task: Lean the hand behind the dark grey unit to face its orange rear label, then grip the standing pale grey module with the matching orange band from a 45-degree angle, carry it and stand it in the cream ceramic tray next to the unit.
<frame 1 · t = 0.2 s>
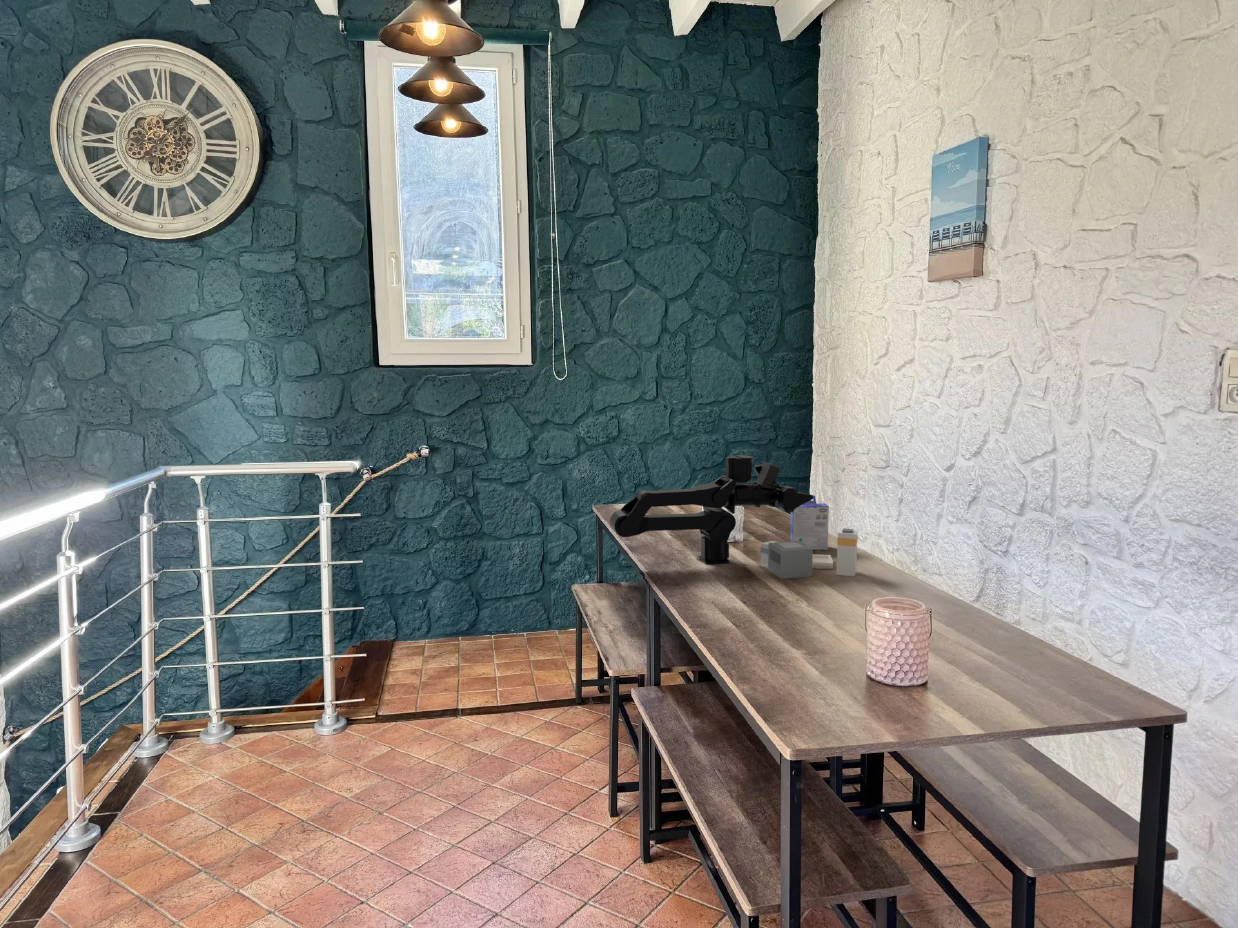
hand: (805, 494, 217), 16 cm above the table, tool horizontal, fingers open, 9 cm apart
tray: (815, 564, 210), on the table
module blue: (772, 566, 208), on the table
ink cartridge box: (808, 548, 227), on the table
unit: (789, 573, 202), on the table
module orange: (846, 573, 202), on the table
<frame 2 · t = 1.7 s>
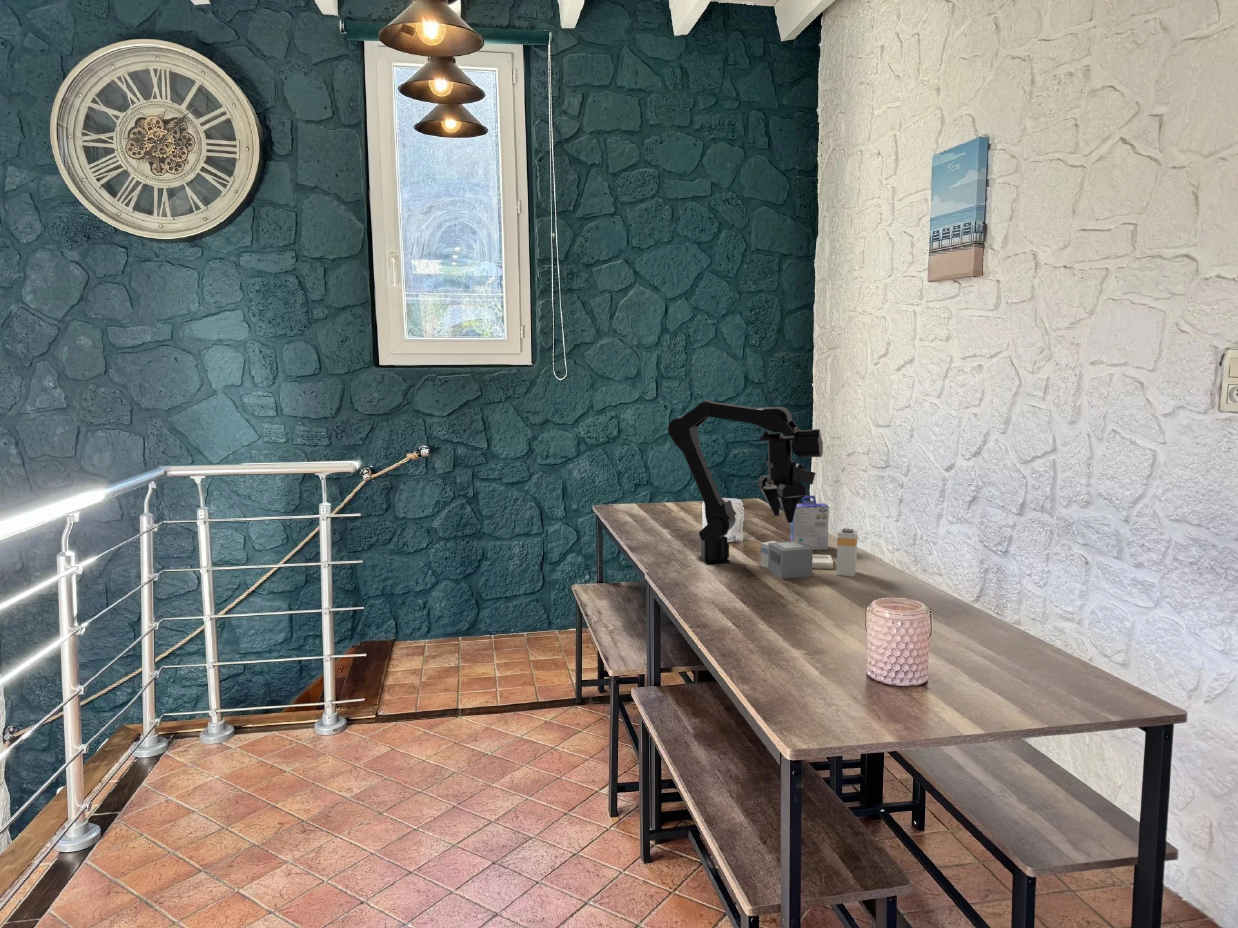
hand: (783, 519, 206), 12 cm above the table, tool pointing down, fingers open, 9 cm apart
nothing on the table moved.
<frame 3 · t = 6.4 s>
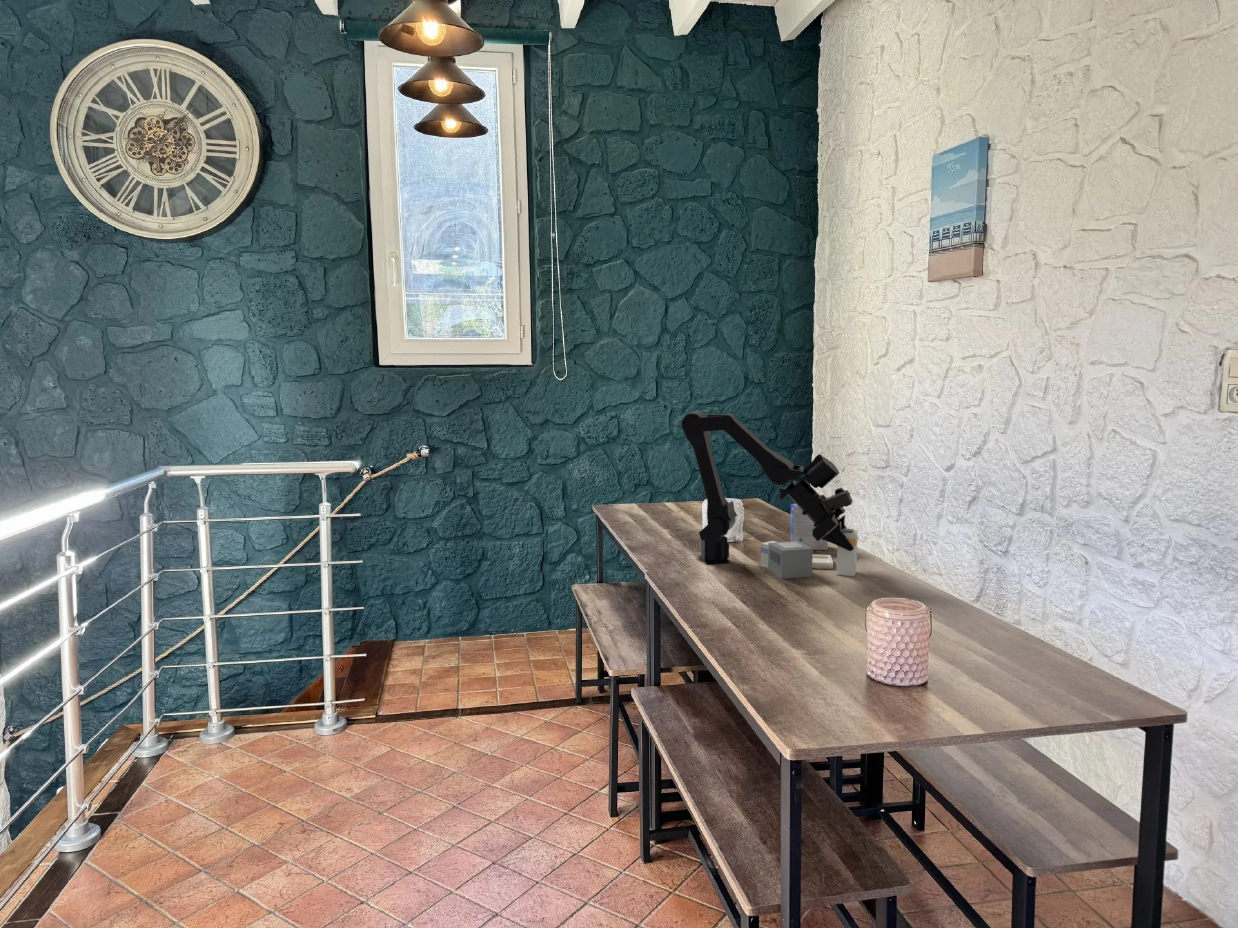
hand: (853, 547, 200), 7 cm above the table, tool tilted 45°, fingers closed on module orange, 4 cm apart
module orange: (846, 573, 202), on the table, touching gripper
everything else where it was.
when the fingers open (8 cm above the table, at t = 9.9 s): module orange drops 1 cm, resting on tray.
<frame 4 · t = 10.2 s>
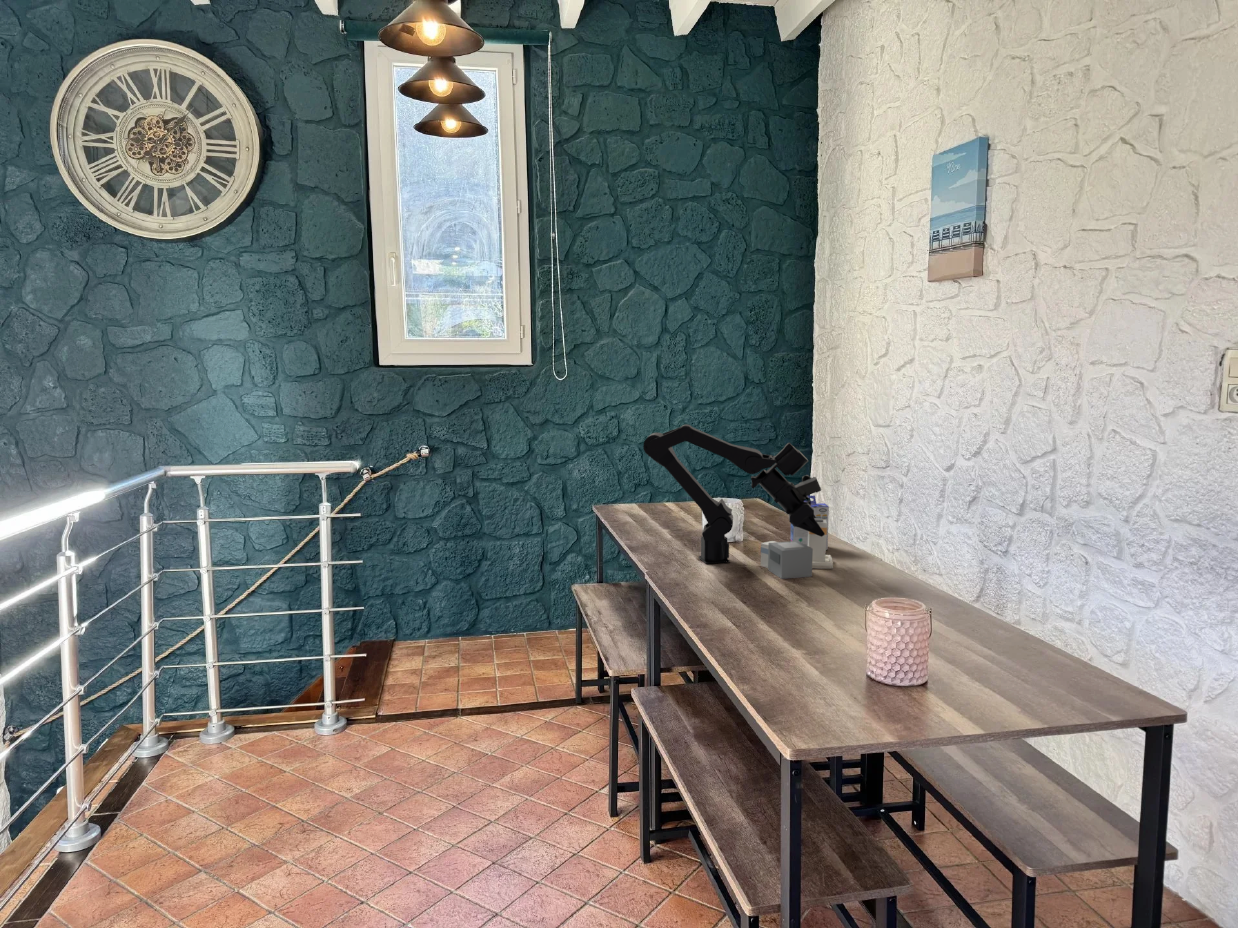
hand: (822, 531, 209), 9 cm above the table, tool tilted 45°, fingers open, 8 cm apart
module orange: (815, 560, 210), point 1 cm above the table, touching tray
everything else where it was.
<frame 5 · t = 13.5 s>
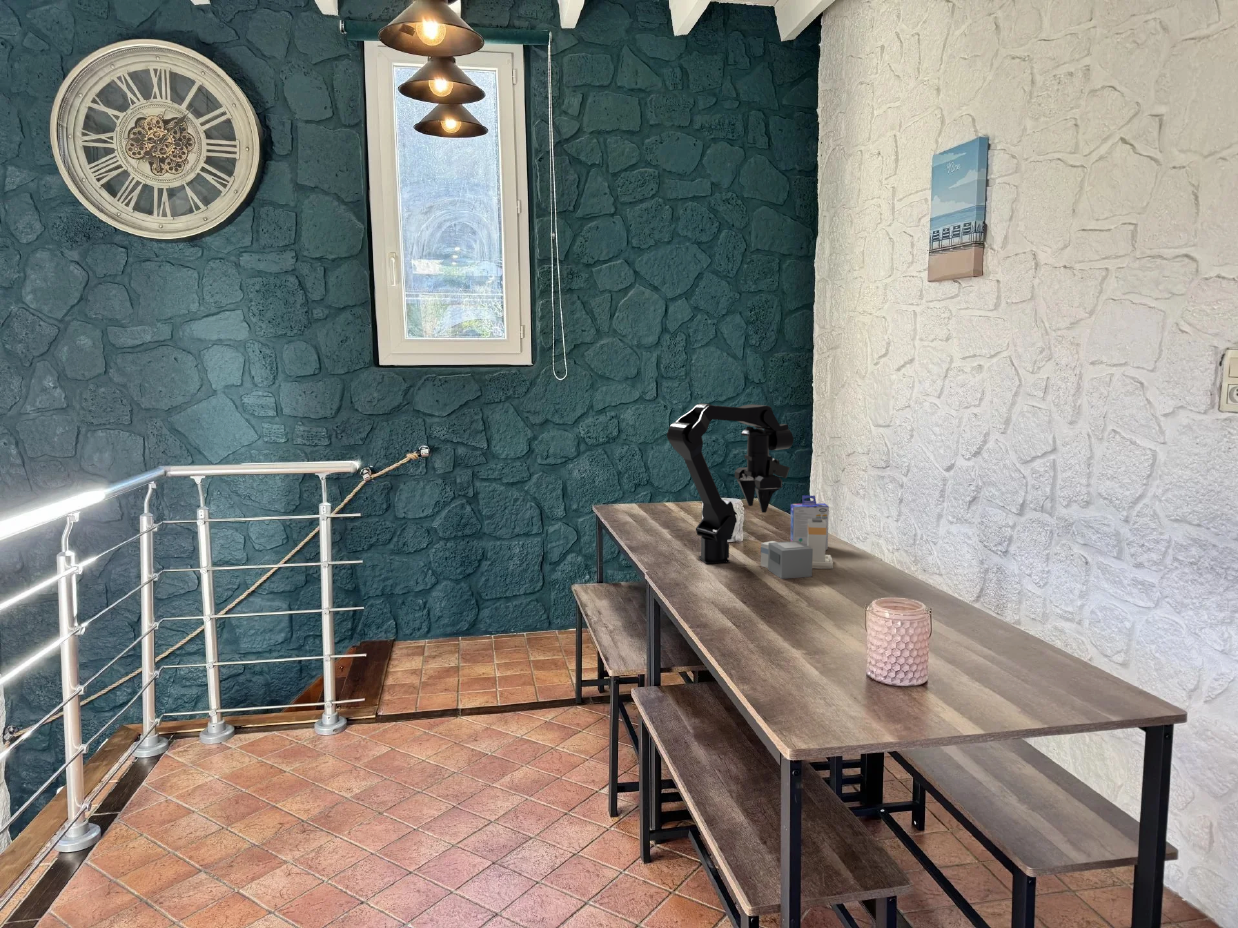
hand: (757, 509, 220), 12 cm above the table, tool pointing down, fingers open, 9 cm apart
nothing on the table moved.
at the end: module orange inside the target area on the tray (0.0 cm from its centre), point 0.8 cm above the tray's base; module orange tilted 0°; the gripper is holding nothing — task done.
